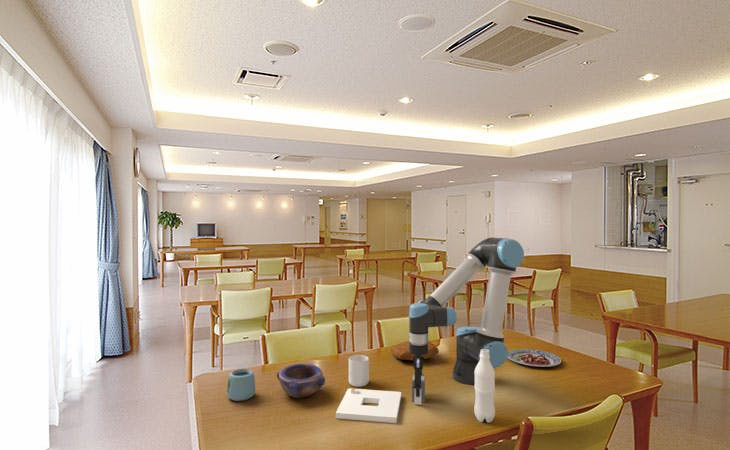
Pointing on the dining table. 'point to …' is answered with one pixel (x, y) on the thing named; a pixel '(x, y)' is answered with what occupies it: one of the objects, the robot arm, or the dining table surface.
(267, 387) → the dining table surface
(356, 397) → the socket plate
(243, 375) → the mug
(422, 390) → the plug
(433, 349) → the bread loaf
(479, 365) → the water bottle
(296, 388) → the bowl
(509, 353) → the ceramic plate
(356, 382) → the mug
